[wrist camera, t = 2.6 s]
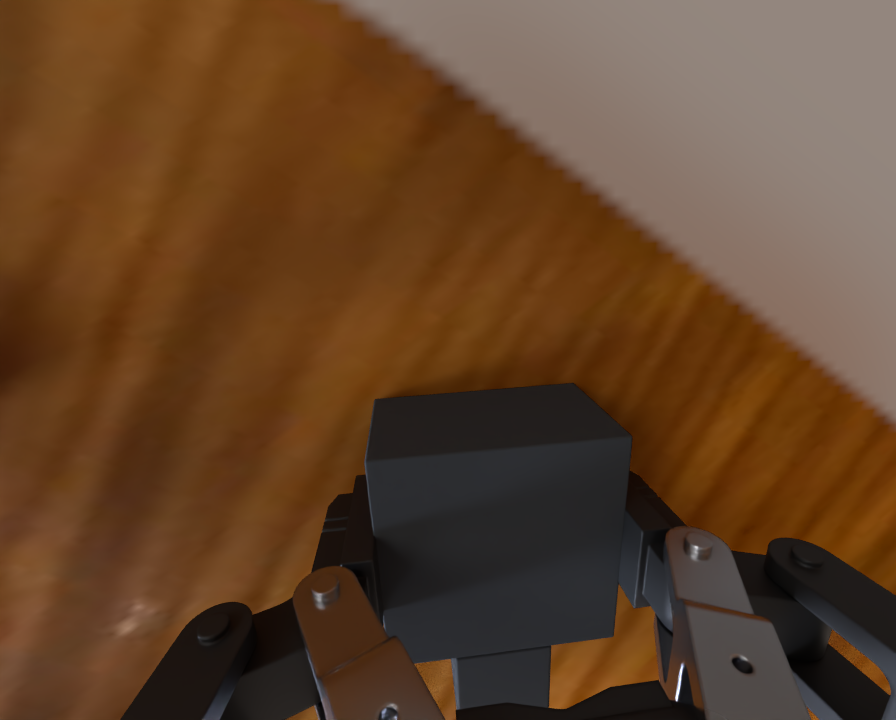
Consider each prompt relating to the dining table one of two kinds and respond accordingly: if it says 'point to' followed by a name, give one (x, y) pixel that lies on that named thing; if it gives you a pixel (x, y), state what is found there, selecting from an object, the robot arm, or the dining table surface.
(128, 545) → the dining table surface
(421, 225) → the dining table surface
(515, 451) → the pad
